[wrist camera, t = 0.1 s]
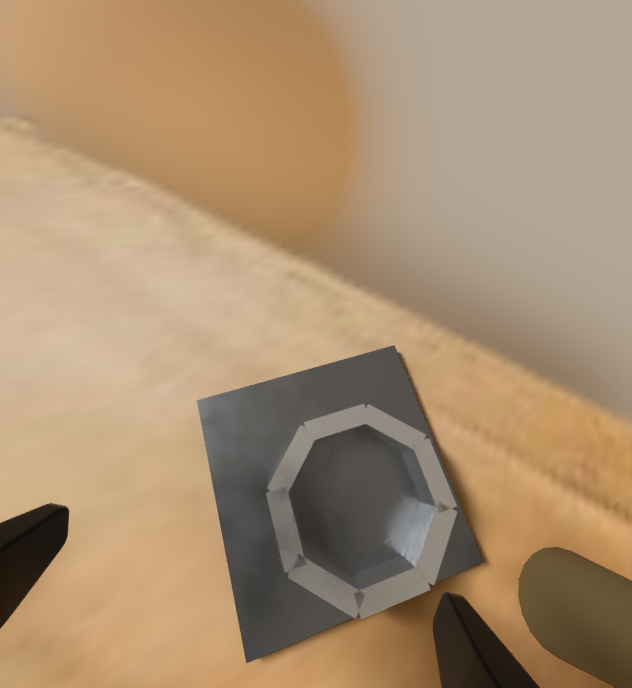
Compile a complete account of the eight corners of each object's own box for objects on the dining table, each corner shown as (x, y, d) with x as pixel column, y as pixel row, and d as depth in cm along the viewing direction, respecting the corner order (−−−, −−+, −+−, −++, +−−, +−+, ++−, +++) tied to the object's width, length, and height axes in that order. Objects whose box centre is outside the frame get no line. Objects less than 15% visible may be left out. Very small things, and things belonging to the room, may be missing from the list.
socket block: (475, 557, 21) (509, 575, 18) (248, 653, 19) (239, 694, 15) (390, 349, 26) (405, 332, 22) (200, 403, 23) (185, 393, 20)
